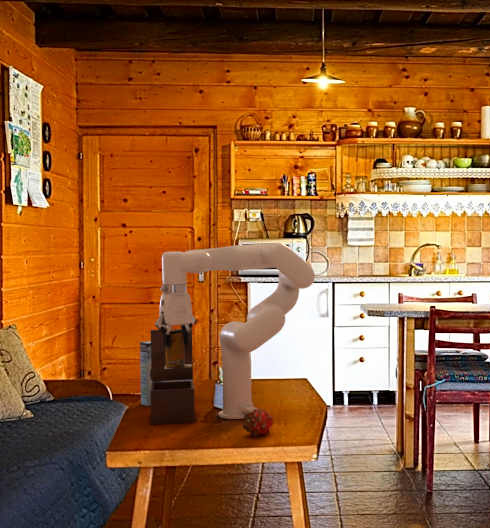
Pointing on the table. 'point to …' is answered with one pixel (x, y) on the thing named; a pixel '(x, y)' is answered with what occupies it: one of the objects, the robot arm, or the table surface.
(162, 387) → the chest
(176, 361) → the condiment
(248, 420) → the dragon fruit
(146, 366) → the gum box
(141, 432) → the table surface
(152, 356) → the dark brown upright block
